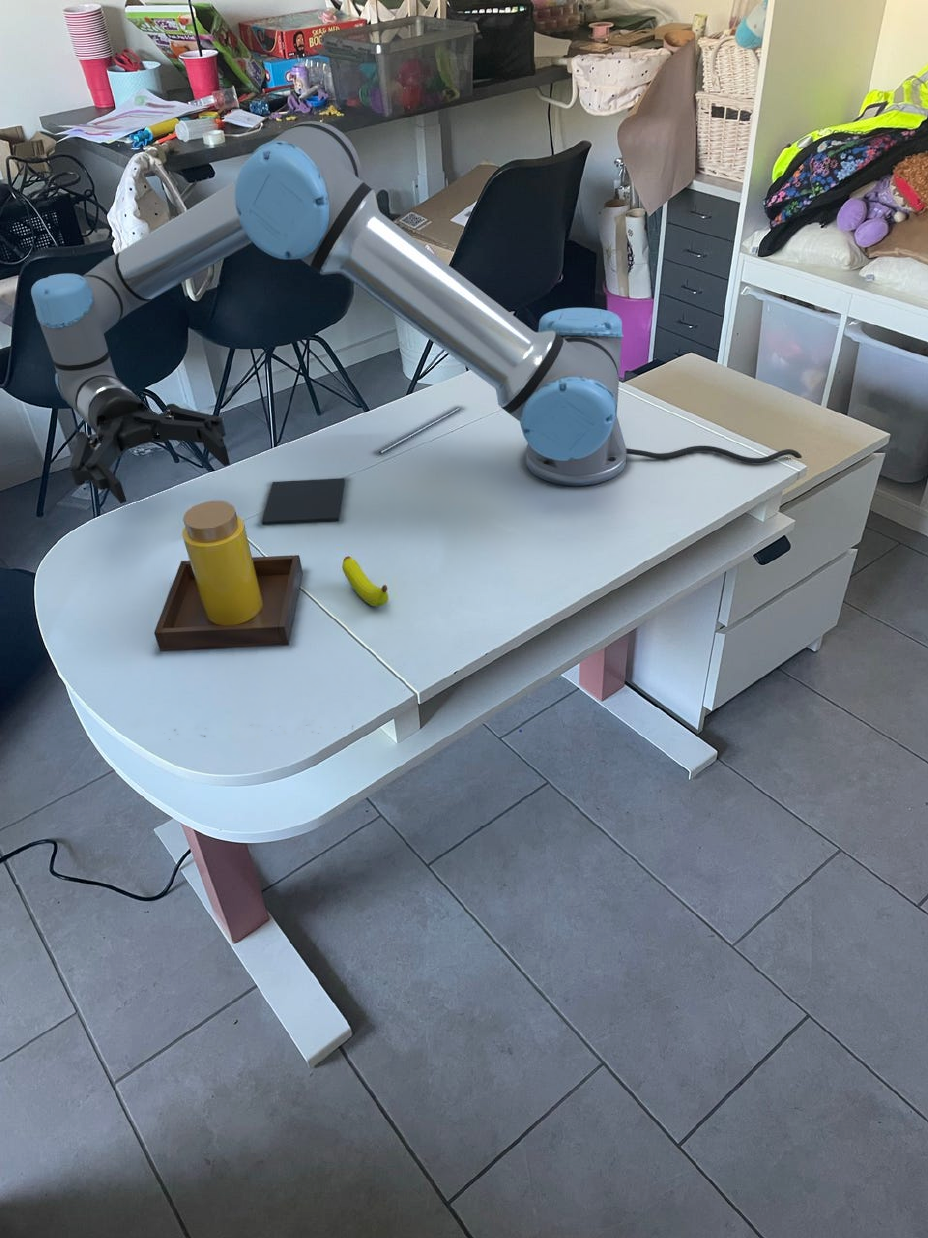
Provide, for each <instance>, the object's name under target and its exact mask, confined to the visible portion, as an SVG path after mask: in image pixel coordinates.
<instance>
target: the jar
mask: <svg viewBox="0 0 928 1238" xmlns="http://www.w3.org/2000/svg"><path fill="white" fill-rule="evenodd" d="M182 521H183V524H184V528H183V529H182V534H181V535H182V540H183V543H184V546H185V549H186V553H187V556H188V559H189V560H188V561H190V563H191V567H192V570H193V573H194V577H195V580H196V583H197V587H198V590H199V594H200V597H201V600H202V604H203V607H204V611H205V614H206V616H207V618H208V619H209V620H210V621H211V622H213V623H215V624H218V625H236V624H241V623H243V622H246V621H248V620H250V619H252V618H253V617H255V616H256V615H257V614H258V613H259V612H260V610H261V608H262V605H263V600H262V596H261V592H260V588H259V584H258V580H257V576H256V571H255V567H254V563H253V559H252V557H253V556H252V552H251V546H250V543H249V539H248V535H247V530H246V526H245V523H244V520H243V519H242V518H241V517H240V515H238V514H237V511H236V507H235V506H234V505H233V504H231V503H230V502H229V501H223V500H209V501H204V502H201V503H197V504H196V505H193V506H192V507H190V508H189V509H187V510H186V512H185V513H184V514H183V520H182Z"/></svg>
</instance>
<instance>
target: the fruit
mask: <svg viewBox="0 0 928 1238" xmlns="http://www.w3.org/2000/svg"><path fill="white" fill-rule="evenodd" d="M342 561H343V562H342V566H341V568H342V571H343V574H344V576H345V578H346V580H347V581H348V583H349V585H350V586H351V587H352V588H353V590H354V591H355V592H356V593H357V595H358V596H359V597H360V598H361V599H362V600H363V601H364V602H365V603H366V604H368V605H370V606H372V607H376V608H377V607H382V606H384V605H386V604H387V602H388V601H389V594H388V586H387V585H386V584H383V585H382V586H381V587H379V586H377V585H375V584H374V583H373V582H372V581H371V580H370V579H369V578H368V576H367V575H366V574H365V572H364V571H363V569H362V568H361V566H360V564H359V562H357V560H356V559H354V558H352V557H351V556H346V557H344V559H343V560H342Z"/></svg>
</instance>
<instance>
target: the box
mask: <svg viewBox="0 0 928 1238" xmlns="http://www.w3.org/2000/svg"><path fill="white" fill-rule="evenodd" d="M252 559H253V563H254V567H255V571H256V576H257V580H258V584H259V588H260V592H261V596H262V600H263V605H262V608H261V610H260V612H259V613H258V614H257V615H256V616H255V617H253V618H252V619H250V620H248V621H246V622H243V623H241V624H236V625H218V624H215V623H213V622H211V621H210V620H209V619H208V618H207V616H206V614H205V611H204V607H203V604H202V600H201V597H200V594H199V590H198V587H197V583H196V580H195V577H194V573H193V570H192V567H191V563H190V560H181V561H180V562H179V565H178V569H177V571H176V574H175V576H174V579H173V581H172V584H171V587H170V589H169V592H168V593H167V597H166V599H165V603H164V604H163V608H162V611H161V614H160V616H159V618H158V621H157V624H156V626H155V629H154V632H153V634H154V637H155V640H156V643H157V646H158V649H159V651H160V652H175V651H176V652H178V651H179V652H180V651H195V650H196V651H198V650H199V651H201V650H217V649H219V650H220V649H239V648H240V649H241V648H261V647H280V646H290V641H291V636H292V631H293V625H294V622H295V621H294V620H295V616H296V611H297V605H298V600H299V597H300V596H299V595H300V589H301V585H302V581H303V575H304V572H303V566H302V561H301V556H300V554H297V555H296V554H294V555H291V554H289V555H273V556H272V555H271V556H252Z"/></svg>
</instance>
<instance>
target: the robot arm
mask: <svg viewBox="0 0 928 1238" xmlns="http://www.w3.org/2000/svg"><path fill="white" fill-rule="evenodd" d="M251 244H254V245H255V246H256V247H257V248H258V249H260V250H261V251H263V253H266V254H267V255H269V256H271V257H273V258H276V259H279V260H301V261H302V262H303V263H305V264H306V265H307V266H309V267H311V268H312V269H313V270H314V271H316V272H317V273H319V274H320V275H321V276H326V275H331V274H341V275H343V276H344V277H345V278H346V279H349V281H350V282H352V283H353V284H354V285H356V286H357V287H359V288H360V289H362V290H363V291H364V292H365V293H367V294H368V295H369V296H371V297H372V298H373V299H375V300H376V301H378V302H379V303H380V304H381V305H382V306H384V307H385V308H387V309H388V310H389V311H390V312H392V313H393V314H394V315H396V316H398V317H399V318H400V319H401V320H403V321H404V322H405V323H407V324H408V325H410V326H411V327H412V328H413V329H415V330H416V331H417V332H419V333H420V334H421V335H423V336H424V337H425V338H427V339H428V340H430V341H431V342H432V343H433V344H435V345H436V346H438V347H439V348H440V349H441V350H443V351H444V352H446V353H447V354H448V355H449V356H451V357H452V358H453V359H455V360H456V361H457V362H459V363H460V364H461V365H463V366H464V367H466V368H467V369H469V371H471V372H472V373H473V374H475V375H476V376H478V377H479V378H480V379H482V380H483V381H485V383H487V384H489V385H490V386H491V387H492V388H494V389H495V394H496V400H497V405H498V407H500V408H501V409H502V410H503V411H505V412H506V413H507V414H509V415H510V416H511V417H513V418H514V419H516V420H517V421H518V422H519V423H520V428H521V431H522V435H523V438H524V439H525V441H526V443H527V445H526V449H525V450H526V451H525V463H526V466H527V469H528V470H529V471H530V472H531V473H532V474H533V475H535V476H536V477H538V478H540V479H542V480H544V481H547V482H549V483H553V484H557V485H562V486H573V487H577V486H578V487H580V486H591V485H597V484H600V483H603V482H606V481H607V482H608V481H609V480H611V479H613V478H615V477H617V476H618V475H619V474H620V473H621V472H623V470H624V468H625V467H626V463H627V455H634V456H640V457H645V458H650V459H657V460H662V459H663V460H665V459H672V458H676V457H679V456H682V455H686V454H689V453H694V452H711V453H716V454H719V455H721V456H725V457H727V458H730V459H733V460H736V461H739V462H741V463H745V464H746V463H747V464H754V465H755V464H756V465H757V464H765V463H769V462H772V461H775V460H776V459H779V458H781V457H783V456H787V455H788V456H793V457H794V458H795V459H803V456H802V454H801V453H800V452H798V451H797V450H795V449H792V448H791V449H790V448H789V449H788V448H786V449H782V450H779V451H777V452H775V453H772V454H770V455H767V456H764V457H749V456H745V455H740V454H737V453H735V452H732V451H729V450H727V449H724V448H721V447H717V446H714V445H713V446H712V445H693V446H688V447H684V448H681V449H677V450H675V451H671V452H661V453H660V452H658V453H657V452H652V451H647V450H642V449H635V448H634V449H633V448H627V445H626V443H625V439H624V436H623V432H622V427H621V425H620V422H619V418H618V403H619V402H618V401H619V390H620V389H619V388H620V387H619V385H620V371H621V354H622V341H623V338H624V333H623V322H622V318H621V317H620V316H619V315H618V314H616V313H615V312H613V311H610V310H605V309H601V308H594V307H566V308H559V309H555V310H551V311H549V312H547V313H545V314H543V315H542V316H541V317H540V319H539V322H538V329H537V330H538V331H537V332H536V331H534V330H532V329H531V328H530V327H528V325H526V324H525V323H524V322H522V321H521V320H520V319H519V318H517V317H516V316H515V315H513V314H512V313H510V311H508V310H507V309H505V308H504V307H503V306H502V305H501V304H499V303H498V302H496V301H495V300H494V299H493V298H492V297H490V296H489V295H487V294H486V293H485V292H484V291H482V290H481V289H480V288H478V287H477V286H476V285H475V284H473V283H472V282H471V281H469V280H468V279H467V278H465V277H464V276H463V275H462V274H461V273H459V272H458V271H457V270H456V269H454V268H453V267H451V266H450V265H449V264H448V263H446V261H444V260H442V259H441V258H440V257H439V256H438V255H436V254H435V253H434V252H432V251H431V250H430V249H428V248H427V247H426V246H424V244H422V243H420V242H419V241H418V240H417V239H416V238H414V237H413V236H412V235H410V234H409V233H408V232H407V231H405V230H404V229H403V228H402V227H400V226H399V225H397V224H396V223H395V222H393V221H392V220H391V219H390V218H389V217H387V216H386V215H385V214H383V213H382V212H381V210H380V209H379V206H378V201H377V194H376V191H375V190H374V189H373V188H372V187H371V186H369V185H368V184H366V182H364V181H363V180H362V166H361V161H360V158H359V156H358V152H357V150H356V149H355V147H354V145H353V144H352V142H351V140H350V139H349V138H348V137H347V135H345V134H344V133H343V132H342V131H341V130H339V129H338V128H336V127H335V126H332V125H331V124H329V123H326V122H323V121H315V120H309V121H303V122H299V123H295V124H294V125H292V126H290V127H288V128H287V129H285V130H284V131H283V132H282V133H281V134H279V135H278V136H276V137H275V138H273V139H272V140H270V141H268V142H266V143H263V144H260V146H258V147H257V148H256V149H255V150H254V151H252V154H251V155H250V157H249V158H248V159H247V160H246V161H245V162H244V164H242V167H241V168H240V170H239V172H238V175H237V177H236V180H234V181H233V182H231V183H230V184H228V185H226V186H224V187H223V188H221V189H219V190H218V191H215V193H213V194H212V195H210V196H208V197H206V198H204V199H203V200H202V201H200V202H198V203H197V204H195V205H193V206H192V207H190V208H189V209H187V210H185V211H184V212H182V213H180V214H179V215H177V216H175V217H174V218H172V219H171V220H168V221H167V222H166V223H164V224H163V225H161V226H159V227H157V228H156V229H155V230H153V231H151V232H149V233H147V234H145V236H143V237H142V238H140V239H138V240H136V241H135V242H133V243H132V244H130V245H128V246H127V247H125V248H124V249H122V250H121V251H119V252H117V253H115V254H113V255H110V256H108V257H106V258H104V259H103V260H101V261H100V262H98V263H97V265H96V266H95V267H93V268H92V269H90V270H89V271H87V272H86V273H85V274H84V275H80V274H78V273H77V274H76V273H58V274H53V275H48V277H43V278H40V279H38V280H37V281H35V283H34V284H33V285H32V286H31V289H30V295H31V298H32V303H33V305H34V309H35V315H36V319H37V321H38V323H39V325H40V328H41V331H42V333H43V336H44V339H45V341H46V345H47V348H48V350H49V353H50V356H51V358H52V362H53V366H54V368H55V377H54V379H55V380H54V381H55V385H56V388H57V390H58V392H59V394H60V396H61V398H62V399H63V401H65V402H66V404H67V405H68V406H70V408H72V409H73V410H74V411H75V412H76V414H78V415H79V416H80V418H82V420H83V421H84V422H85V423H86V424H87V425H88V427H90V429H91V430H92V431H93V432H94V434H86V432H85V431H78V432H76V433H75V438H76V441H77V442H76V445H75V448H74V451H73V454H72V457H71V460H70V464H69V466H68V469H69V471H70V473H71V476H72V479H73V483H74V484H75V486H79V487H80V486H83V485H84V484H86V481H90V482H91V485H92V487H93V488H94V489H98V490H100V491H103V490H107V489H108V490H109V492H110V493H111V494H112V495H113V497H114V498H115V499H116V500H117V501H118V503H120V504H124V503H126V502H128V501H127V499H126V496H125V495H126V494H125V492H124V488H123V486H122V483H121V481H120V479H118V477H117V476H116V475H115V474H114V473H113V472H112V471H111V469H110V468H111V467H112V466H113V464H114V463H115V462H116V460H118V458H122V457H123V455H124V454H125V453H126V451H127V450H132V449H133V448H137V447H139V446H142V445H144V444H149V443H160V444H165V443H167V442H168V441H177V442H186V443H187V442H188V443H198V444H199V443H200V444H202V446H203V448H204V450H206V451H207V452H208V453H209V454H210V455H211V456H213V457H214V458H215V459H216V460H217V461H218V462H219V463H220V464H221V465H222V466H224V467H227V466H230V465H231V463H230V458H229V452H228V449H227V445H226V444H225V441H224V437H226V436H227V435H226V434H227V433H226V429H225V424H224V421H223V418H222V416H218V415H213V414H209V413H206V412H205V413H204V412H200V411H195V410H191V409H187V408H184V407H183V408H182V407H180V406H179V405H176V404H175V403H168V404H167V405H165V407H166V408H165V409H166V411H163V412H160V413H157V412H155V411H151V410H150V409H149V407H148V406H147V405H146V404H145V403H144V402H143V401H142V400H141V399H140V398H139V397H138V396H137V395H136V394H135V393H134V392H133V391H132V390H131V389H130V388H128V387H127V386H126V385H125V384H124V383H123V382H122V381H121V380H120V379H119V378H118V376H117V374H116V372H115V369H114V365H113V363H112V358H111V356H110V351H109V348H108V344H107V340H106V337H105V334H106V333H107V332H108V331H109V330H110V329H111V328H113V327H114V326H115V325H116V324H118V323H119V322H120V321H121V320H122V319H124V318H125V317H126V316H128V315H129V314H130V313H131V312H134V311H135V310H136V309H138V308H140V307H142V306H143V305H145V304H147V303H149V302H150V301H152V300H153V299H155V298H156V297H158V296H160V295H162V294H164V293H166V292H167V291H169V290H171V289H173V288H174V287H177V286H178V285H180V284H181V283H184V282H185V281H187V280H188V279H191V278H192V277H194V276H196V275H198V274H200V273H202V272H203V271H205V270H207V269H209V268H210V267H212V266H213V265H215V264H217V263H219V262H221V261H223V260H224V259H226V258H228V257H230V256H231V255H233V254H235V253H237V252H238V251H240V250H242V249H244V248H245V247H248V246H249V245H251ZM98 444H99V445H98ZM97 446H98V447H97Z"/></svg>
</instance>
